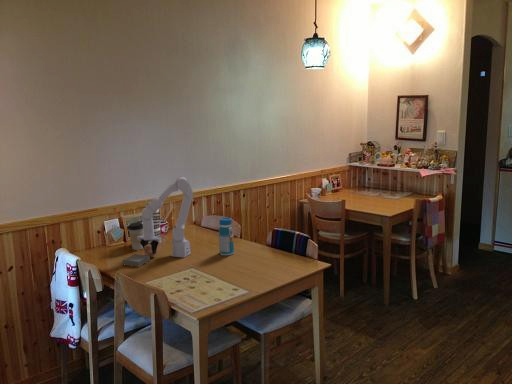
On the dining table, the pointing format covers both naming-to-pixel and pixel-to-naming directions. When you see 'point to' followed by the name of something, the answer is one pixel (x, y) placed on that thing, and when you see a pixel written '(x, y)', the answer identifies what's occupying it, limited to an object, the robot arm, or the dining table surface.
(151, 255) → the terracotta block
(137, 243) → the coffee cup
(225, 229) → the beverage bottle
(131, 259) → the charcoal plinth
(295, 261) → the dining table surface
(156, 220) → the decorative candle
